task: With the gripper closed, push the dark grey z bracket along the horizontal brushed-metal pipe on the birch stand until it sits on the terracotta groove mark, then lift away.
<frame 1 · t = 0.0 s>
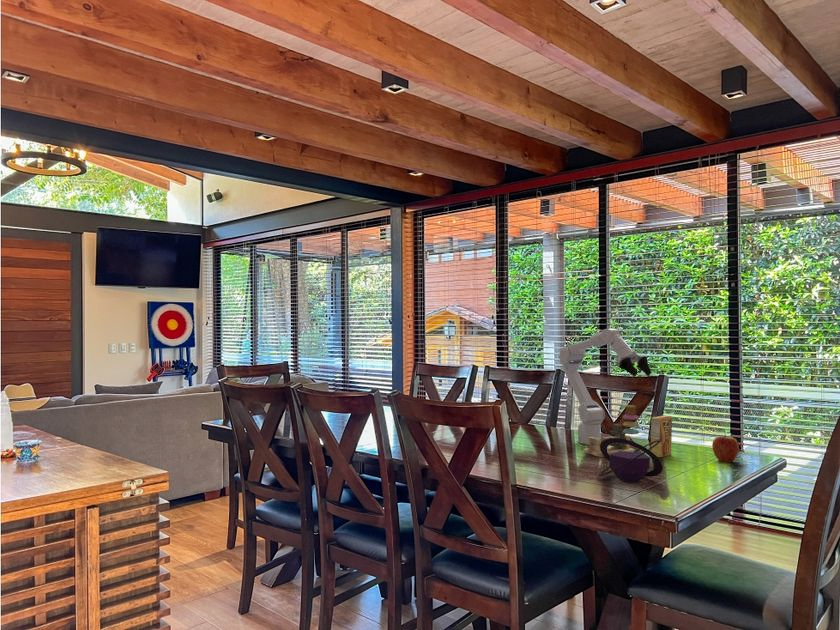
hand: (642, 374, 245), 32 cm above the table, tool tilted 50°, fingers open, 7 cm apart
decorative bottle: (630, 481, 207), on the table
dark grey z bracket: (617, 435, 253), point 6 cm above the table, slide at 1.0 cm
apple: (725, 461, 238), on the table
pipe stand: (609, 452, 251), on the table
candy box: (661, 456, 247), on the table
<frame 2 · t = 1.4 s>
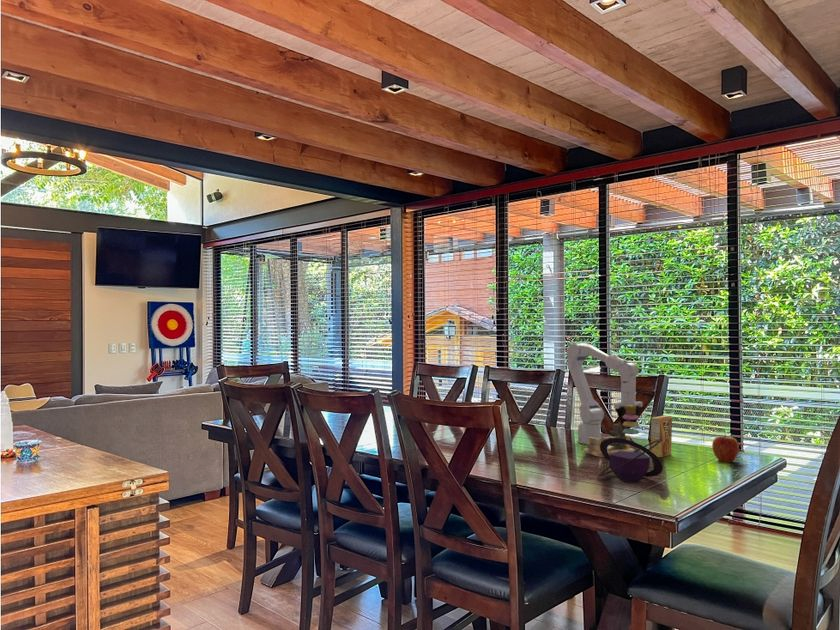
hand: (628, 425, 256), 10 cm above the table, tool pointing down, fingers open, 5 cm apart
nothing on the table moved.
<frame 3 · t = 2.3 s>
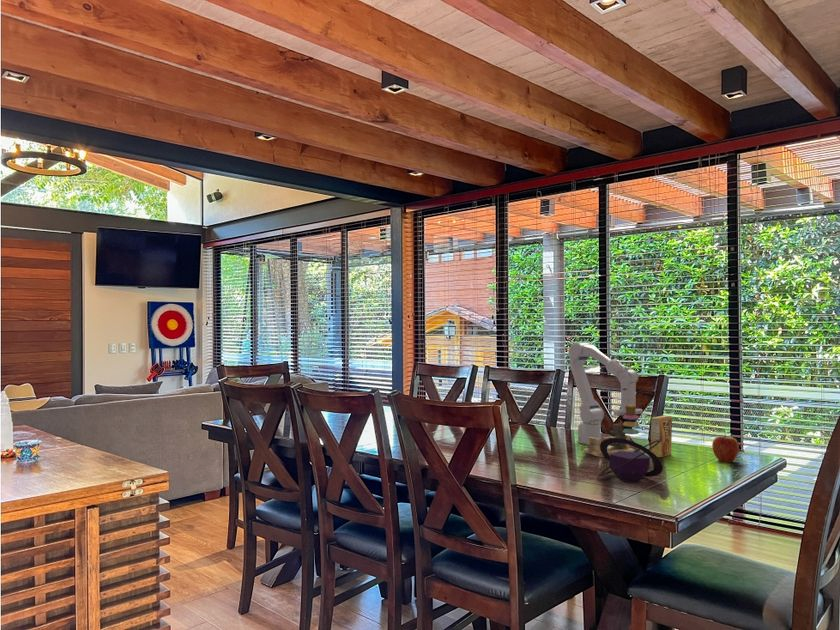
hand: (628, 432, 256), 7 cm above the table, tool pointing down, fingers closed
nothing on the table moved.
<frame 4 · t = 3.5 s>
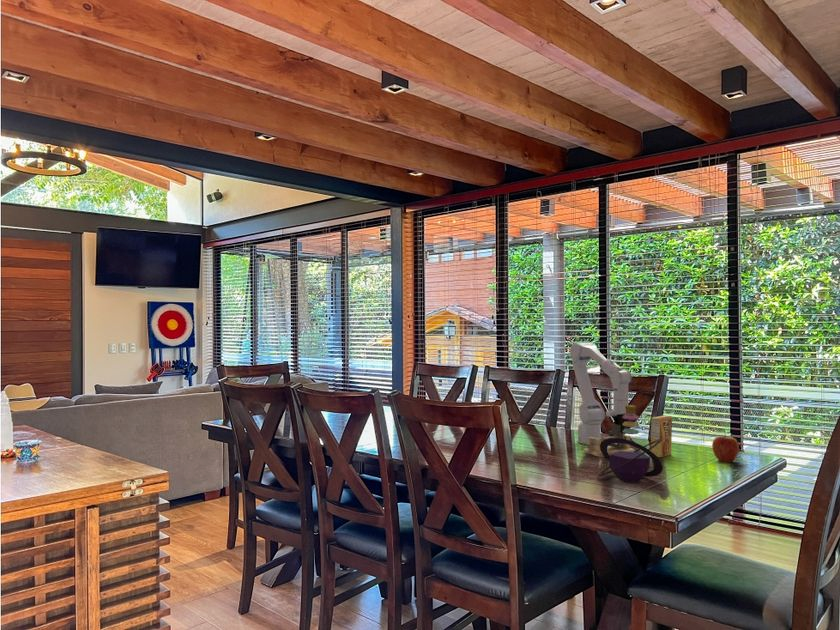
hand: (620, 433, 254), 7 cm above the table, tool pointing down, fingers closed
dark grey z bracket: (615, 435, 253), point 6 cm above the table, slide at 1.9 cm, touching gripper
everything else where it was.
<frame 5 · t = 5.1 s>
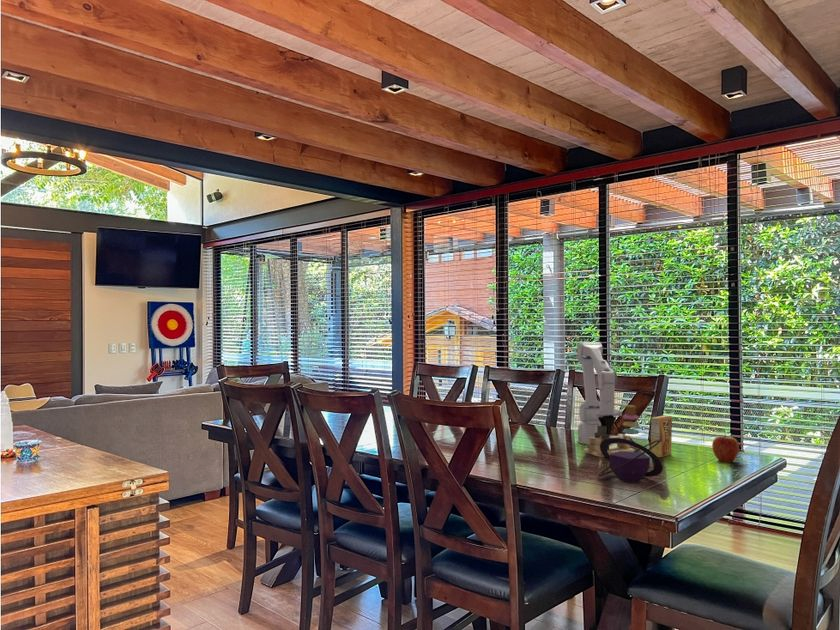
hand: (606, 434, 251), 7 cm above the table, tool pointing down, fingers closed
dark grey z bracket: (601, 437, 249), point 6 cm above the table, slide at 9.5 cm, touching gripper
everything else where it was.
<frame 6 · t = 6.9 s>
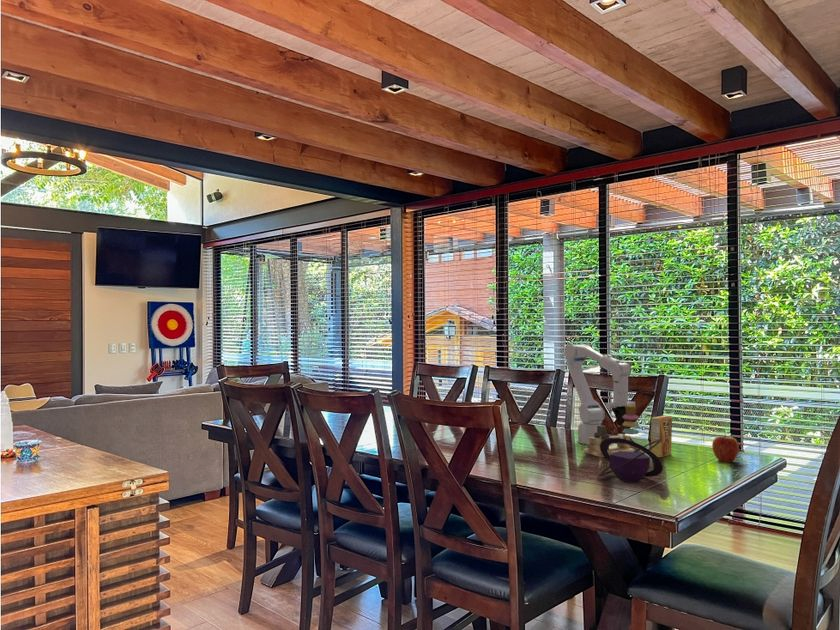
hand: (620, 425, 256), 10 cm above the table, tool pointing down, fingers closed
dark grey z bracket: (601, 437, 249), point 6 cm above the table, slide at 9.7 cm
everything else where it was.
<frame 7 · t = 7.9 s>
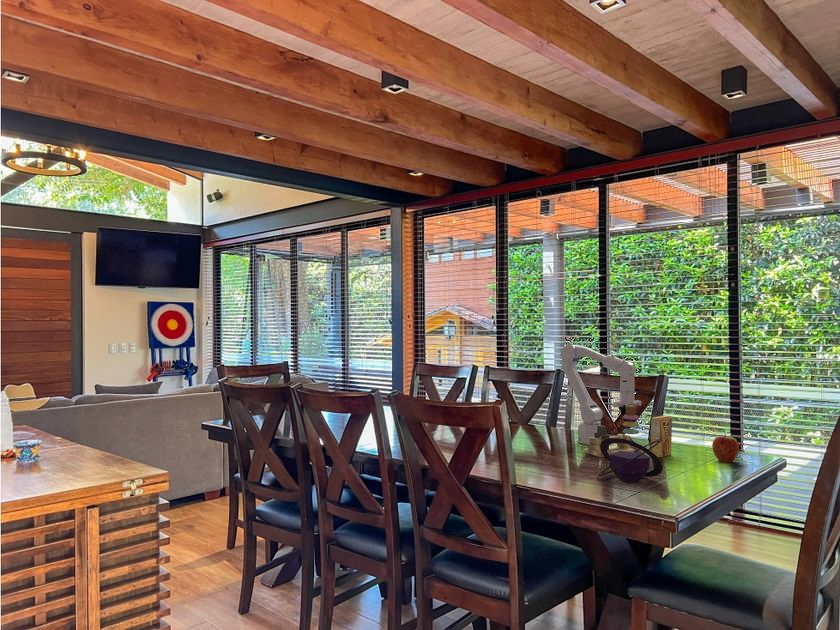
hand: (627, 423, 260), 10 cm above the table, tool pointing down, fingers closed
nothing on the table moved.
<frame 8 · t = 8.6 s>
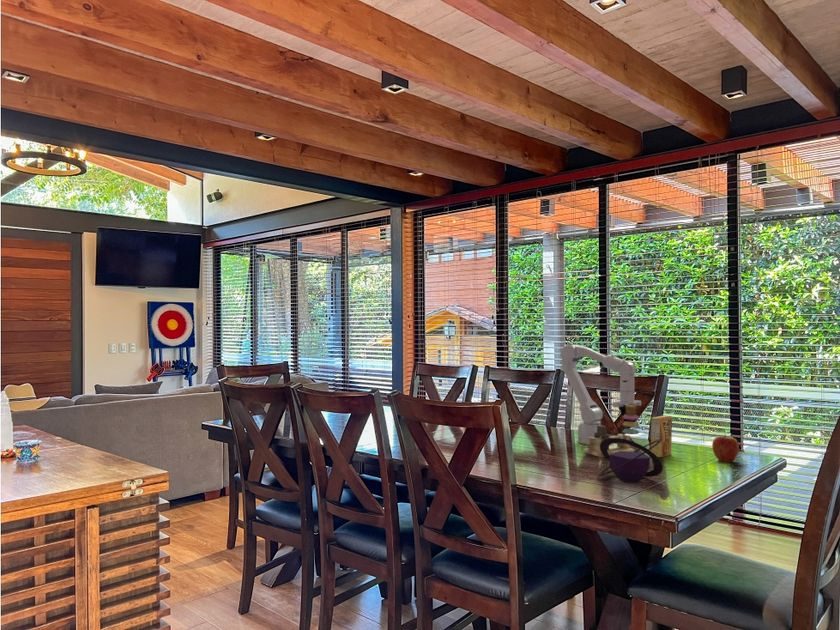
hand: (627, 423, 260), 10 cm above the table, tool pointing down, fingers closed
nothing on the table moved.
at the end: dark grey z bracket slide at 9.7 cm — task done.
